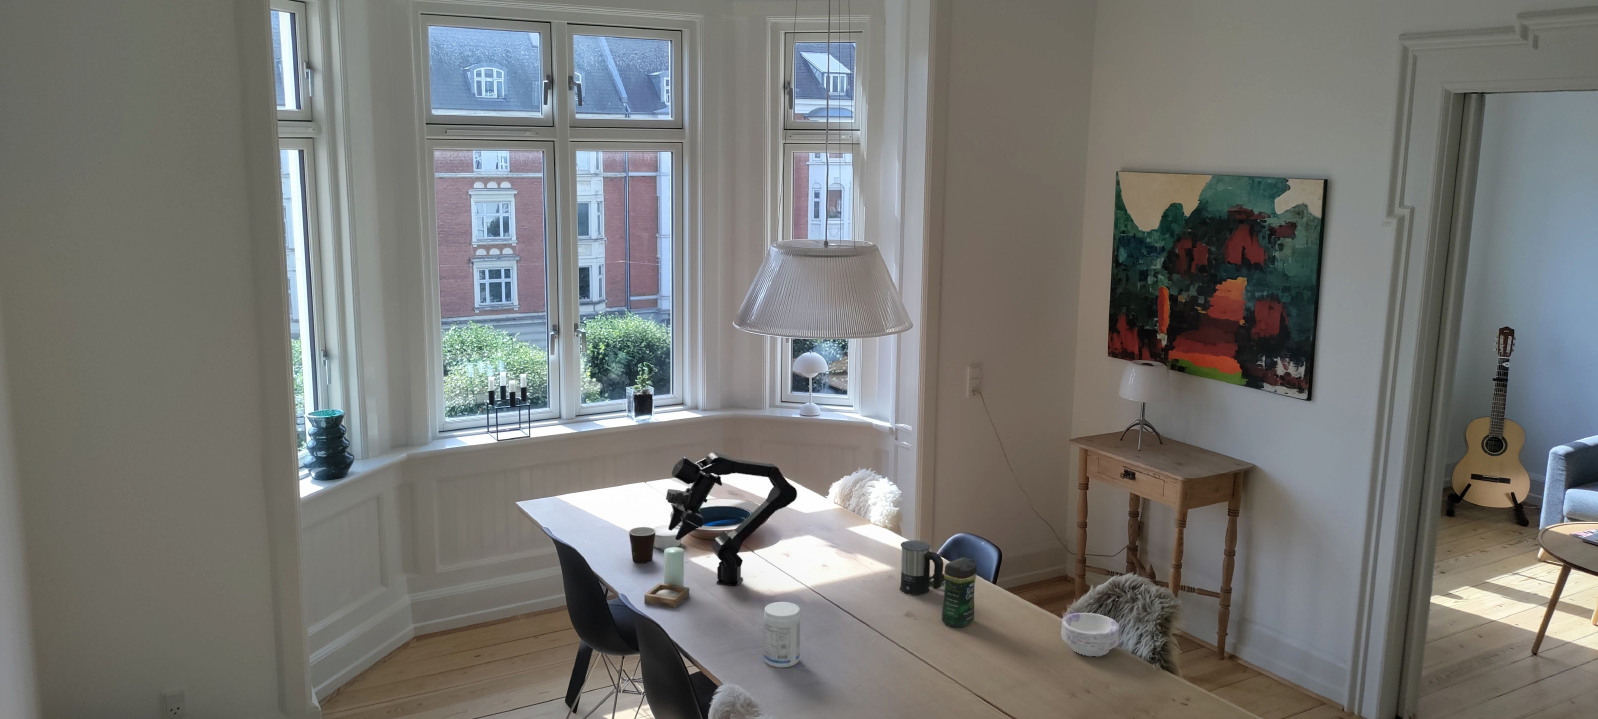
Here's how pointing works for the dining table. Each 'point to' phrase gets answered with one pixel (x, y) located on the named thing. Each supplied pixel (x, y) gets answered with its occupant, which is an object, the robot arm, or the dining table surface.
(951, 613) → the coffee jar
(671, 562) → the pale green rounded part
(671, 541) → the ramekin
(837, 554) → the dining table surface
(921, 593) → the milk frother
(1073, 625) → the paper bowls
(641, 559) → the coffee mug
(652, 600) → the tray
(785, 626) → the supplement tub
